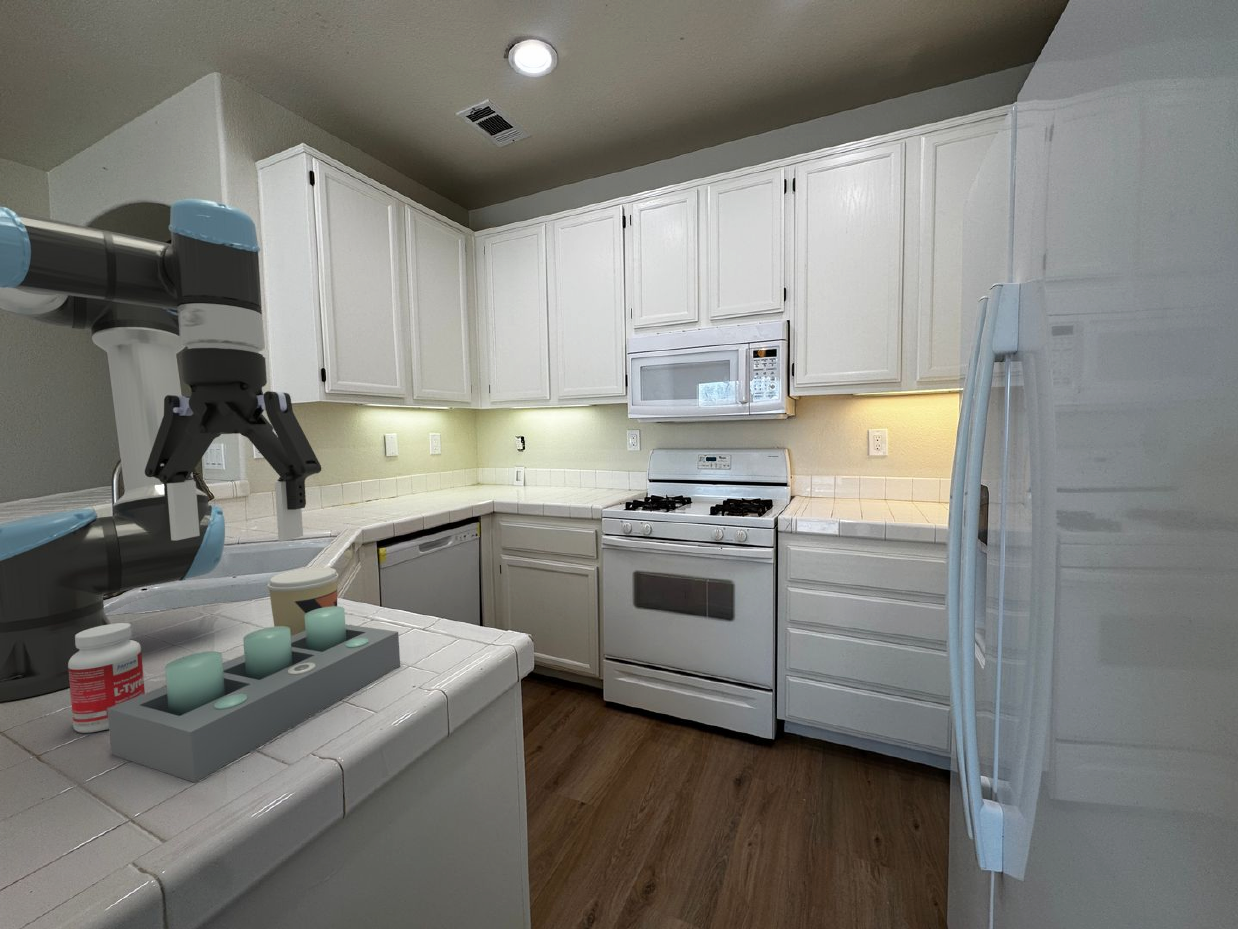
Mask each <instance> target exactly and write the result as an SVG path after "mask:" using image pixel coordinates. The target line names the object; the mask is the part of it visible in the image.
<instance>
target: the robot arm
mask: <svg viewBox="0 0 1238 929" xmlns="http://www.w3.org/2000/svg"><path fill="white" fill-rule="evenodd" d="M169 219H170V220H169V225H168V230H169V232H170V236H171V243H168V242H167V243H166V242H162V241H158V240H154V239H148V238H144V237H139V236H136V235H135V236H134V235H130V234H129V235H128V234H125V233H119V232H114V231H110V230H105V229H98V228H93V227H89V226H85V225H79V224H76V223H70V222H66V221H61V220H58V219H57V220H56V219H52V218H49V217H48V218H47V217H43V216H38V215H34V214H29V213H25V212H21V211H15V210H11V209H10V208H8V207H4V206H0V310H1V311H2V312H5V313H8V314H10V315H13V316H16V317H19V318H22V319H26V320H29V321H32V322H36V323H40V324H46V325H50V326H54V327H59V328H66V329H67V328H68V329H70V328H71V329H77V330H84V331H85V330H86V331H91V338H92V339H91V340H92V342H93V343H94V344H95V345H96V346H97V347H99V348H100V349H102V350H103V351H104V352H106V353H107V360H108V367H109V368H108V369H109V376H110V385H111V393H112V400H113V408H114V416H115V425H116V432H117V440H118V448H119V455H120V456H119V457H120V463H121V472H122V479H123V480H122V481H123V488H124V494H123V495H122V496H121V497H120V498H118V499H117V500H116V502H114V503H113V505H112V509H113V510H112V511H113V515H110V516H109V515H108V516H100V517H98V513H96V511H95V510H94V509H92V508H84V509H82V508H80V509H77V510H76V509H75V510H69V511H67V510H66V511H59V512H53V513H47V514H43V515H36V516H31V517H27V518H26V517H25V518H22V519H21V518H20V519H17V520H12V521H8V522H3V523H0V703H1V702H8V701H14V700H20V699H26V698H30V697H35V696H39V695H44V694H46V693H47V694H48V693H50V692H56V691H58V690H63V689H65V688H70V683H69V671H68V662H69V660H70V658H71V657H72V656H73V655H74V654H76V653H77V652H79V650H80V649H78V648H76V645H75V635H76V634H78V633H80V632H82V631H84V630H87V629H91V628H94V627H98V626H103V625H109V624H112V623H111V622H110V619H109V618H108V616H107V615H106V612H105V607H104V606H105V605H104V595H105V594H111V593H116V592H124V591H129V590H134V589H139V588H144V587H151V586H155V585H160V584H167V583H172V582H176V581H177V582H182V581H186V580H188V579H191V578H196V577H200V576H205V575H208V574H210V573H212V572H213V571H215V569H217V567H219V564H220V562H221V559H222V557H223V552H224V548H225V539H226V538H225V537H226V523H225V522H226V521H225V517H224V513H223V512H224V511H223V509H222V508H221V507H220V506H219V505H215V504H210V505H209V499H208V494H207V493H205V492H204V491H202V490H201V489H198V488H197V484H196V482H197V481H195V480H194V475H193V472H194V470H195V469H196V467H197V466H198V464H199V463H200V461H201V459H203V456H205V453H206V452H207V450H208V449H209V448H210V446H211V445H212V443H213V441H214V440H215V439H216V438H219V437H220V436H221V435H233V434H235V435H237V434H238V435H239V434H240V435H241V436H242V437H246V438H247V439H248V441H250V442H251V444H252V445H253V446H254V448H256V449H257V450H256V451H258V452H259V453H260V455H261V456H263V458H264V459H265V460H266V461H267V463H268V464H269V465H270V467H272V469H273V470H274V471H275V472H276V473H277V475H278V476H279V477H278V479H277V481H275V482H274V493H275V495H274V496H275V504H276V505H275V506H276V507H275V509H276V523H277V535H278V536H277V538H278V541H279V542H286V541H291V540H295V539H298V538H300V537H303V536H304V528H303V514H302V512H303V511H302V510H303V509H305V508H306V505H307V500H306V499H307V497H306V496H307V495H306V480H307V478H308V477H310V476H312V475H315V474H319V473H320V472H321V471H322V465H321V463H320V461H319V460H318V458H317V455H316V454H315V452H314V449H313V448H312V446H311V444H310V442H309V440H308V438H307V436H306V434H305V432H304V430H303V428H302V427H301V425H300V423H299V421H298V419H297V417H296V415H295V414H294V411H293V404H292V398H291V395H290V394H289V393H287V392H281V391H280V392H279V391H270V390H267V391H265V392H264V391H263V387H265V386H266V385H267V382H268V379H267V378H268V377H267V365H266V364H267V363H266V357H264V354H262V353H260V352H262V351H264V349H265V348H266V347H265V346H266V344H265V333H264V332H265V331H264V320H263V312H262V311H263V310H262V293H261V292H262V291H261V274H260V273H261V272H260V258H259V253H260V251H261V248H260V247H259V242H258V237H257V236H258V235H257V231H256V224H255V222H254V220H253V219H252V218H251V217H250V216H249V215H248V214H246V213H245V212H244V211H242V210H240V209H239V208H236V207H234V206H231V205H229V204H224V203H221V202H217V201H213V200H207V199H200V198H185V199H180V200H177V201H175V202H173V203H172V204H171V206H170V217H169ZM186 347H187V348H186ZM185 348H186V349H185ZM178 353H180V366H181V375H182V376H181V378H182V382H183V383H184V384H186V385H188V386H189V387H190V389H191V392H190V396H184V395H182V387H181V382H180V380H181V379H180V373H179V366H178V359H177V354H178ZM264 411H265V413H266V416H267V418H268V420H267V418H266V417H265V416H264V414H263V413H264ZM273 430H274V431H273Z"/></svg>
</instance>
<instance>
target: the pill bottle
mask: <svg viewBox="0 0 1238 929" xmlns="http://www.w3.org/2000/svg"><path fill="white" fill-rule="evenodd" d="M131 637H132V625H131V624H130V623H129V622H128V623H126V622H117V623H111V624H109V625H103V626H98V627H94V628H91V629H87V630H84V631H82V632H80V633H78V634H76V635H75V645H76V648H78V649H80V650H79V652H77V653H76V654H74V655H73V656H72V657H71V658H70V660H69V662H68V671H69V683H70V686H69V690H70V702H71V703H70V704H71V712H72V713H71V714H72V715H71V716H72V724H73V728H74V730H75V731H76V732H78V733H86V734H88V733H95V732H101V731H105V730H109V722H108V711H107V708H110V707H112V706H115V705H117V704H120V703H122V702H125V701H127V700H130V699H133V698H135V697H138V696H140V695H143V694H145V693H146V692H145V691H146V690H145V680H144V678H145V677H144V669H143V668H144V666H143V654H142V653H143V652H142V646H141V644H140V643H139V642H138V641H135V640H131V639H130V638H131Z"/></svg>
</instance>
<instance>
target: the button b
mask: <svg viewBox="0 0 1238 929" xmlns="http://www.w3.org/2000/svg"><path fill="white" fill-rule="evenodd" d="M242 642H243V652H244V654H243V655H245V668H246V677H248V678H253V679H257V680H261V679H263V678H265V677H268V676H270V675H272V674H274V673H277V672H279V671H281V670H283V669H285V668H288V667H290V666H292V665H293V664H292V650H291V636H290V628H289V627H286V626H277V627H274V626H270V627H265V628H260V629H258V630H255V631H252V632H248V633H247V634H246V635H245V636H243V640H242Z"/></svg>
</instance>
